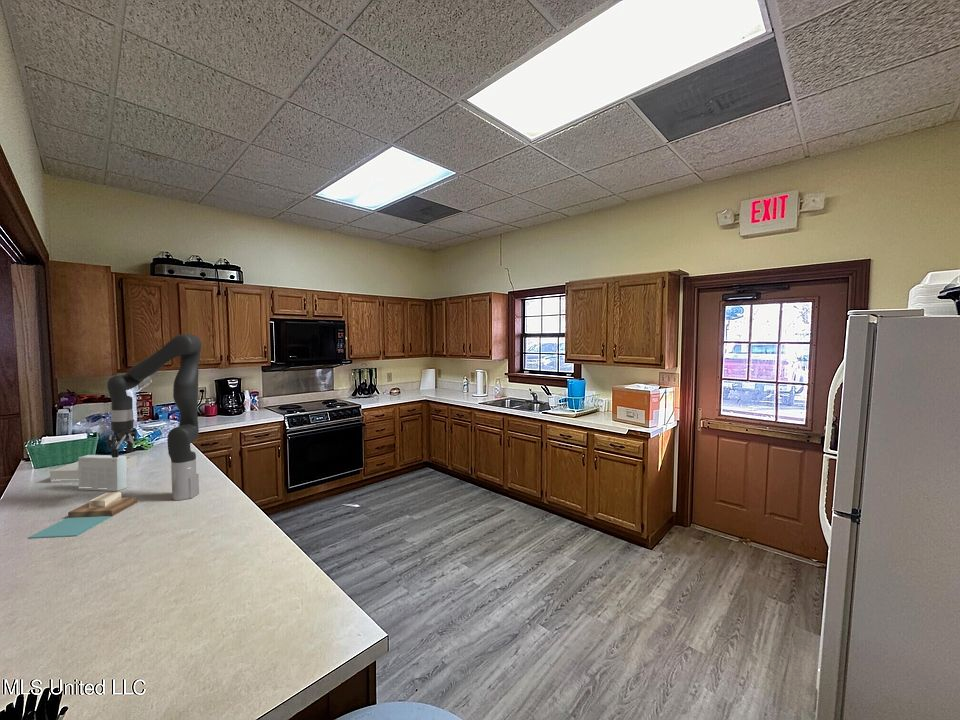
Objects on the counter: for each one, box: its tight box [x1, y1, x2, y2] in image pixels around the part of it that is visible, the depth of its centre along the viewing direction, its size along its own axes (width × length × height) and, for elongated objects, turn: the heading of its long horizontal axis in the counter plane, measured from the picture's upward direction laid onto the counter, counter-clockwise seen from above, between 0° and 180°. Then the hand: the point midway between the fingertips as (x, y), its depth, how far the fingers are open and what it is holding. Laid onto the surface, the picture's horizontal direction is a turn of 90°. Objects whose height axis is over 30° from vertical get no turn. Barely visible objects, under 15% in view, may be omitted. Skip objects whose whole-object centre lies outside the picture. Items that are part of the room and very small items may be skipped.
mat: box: [27, 516, 112, 539], centre depth 155 cm, size 16×16×1 cm
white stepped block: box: [49, 455, 138, 484], centre depth 214 cm, size 24×24×6 cm
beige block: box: [88, 491, 123, 508], centre depth 171 cm, size 6×9×3 cm, turn 7°
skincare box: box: [77, 454, 128, 492], centre depth 194 cm, size 21×5×16 cm, turn 84°
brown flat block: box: [67, 496, 138, 518], centre depth 170 cm, size 16×14×2 cm
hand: (122, 454), depth 180 cm, fingers open, 8 cm apart
